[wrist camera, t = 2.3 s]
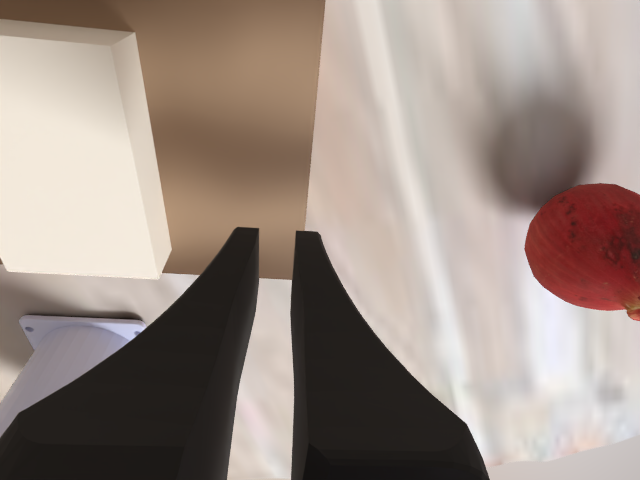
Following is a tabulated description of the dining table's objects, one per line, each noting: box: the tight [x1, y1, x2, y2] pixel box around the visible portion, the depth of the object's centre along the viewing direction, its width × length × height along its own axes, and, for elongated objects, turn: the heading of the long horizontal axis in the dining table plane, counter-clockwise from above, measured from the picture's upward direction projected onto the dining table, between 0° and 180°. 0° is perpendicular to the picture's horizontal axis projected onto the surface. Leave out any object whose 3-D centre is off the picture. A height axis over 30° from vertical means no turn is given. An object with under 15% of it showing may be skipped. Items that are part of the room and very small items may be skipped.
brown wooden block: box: [0, 0, 325, 280], centre depth 17 cm, size 12×20×4 cm, turn 84°
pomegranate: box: [525, 183, 640, 321], centre depth 19 cm, size 6×6×8 cm
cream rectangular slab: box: [0, 19, 172, 279], centre depth 14 cm, size 9×6×2 cm, turn 174°
